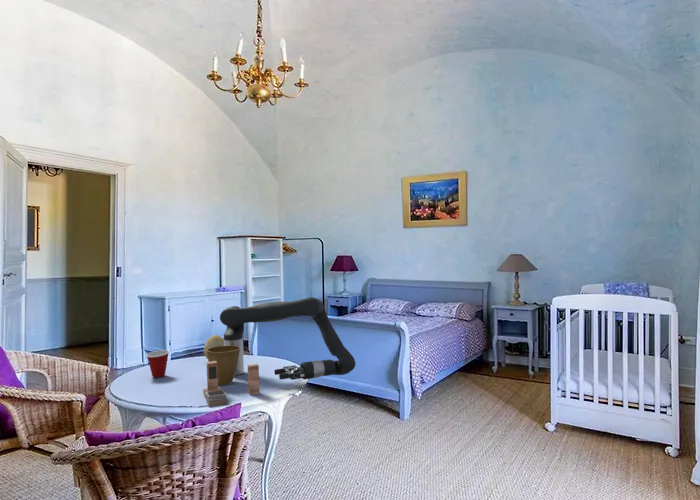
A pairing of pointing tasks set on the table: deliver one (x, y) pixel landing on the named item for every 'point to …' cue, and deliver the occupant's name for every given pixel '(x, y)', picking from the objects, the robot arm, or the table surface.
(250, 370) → the tall copper pillar
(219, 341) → the fossilized egg
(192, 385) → the table surface
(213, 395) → the gravestone
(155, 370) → the plastic cup
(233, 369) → the plant pot
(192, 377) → the table surface
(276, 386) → the table surface
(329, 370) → the robot arm
